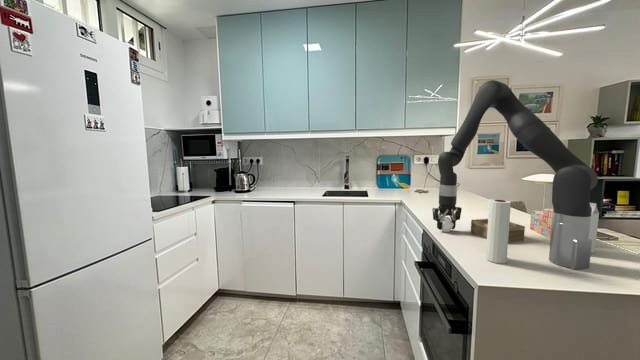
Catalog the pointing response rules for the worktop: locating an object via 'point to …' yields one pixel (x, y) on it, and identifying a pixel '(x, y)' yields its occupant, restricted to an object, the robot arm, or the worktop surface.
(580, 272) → the worktop surface
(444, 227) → the white ribbed cup
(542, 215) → the stack of blocks
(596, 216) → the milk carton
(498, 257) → the paper towel roll
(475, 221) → the wooden tray
